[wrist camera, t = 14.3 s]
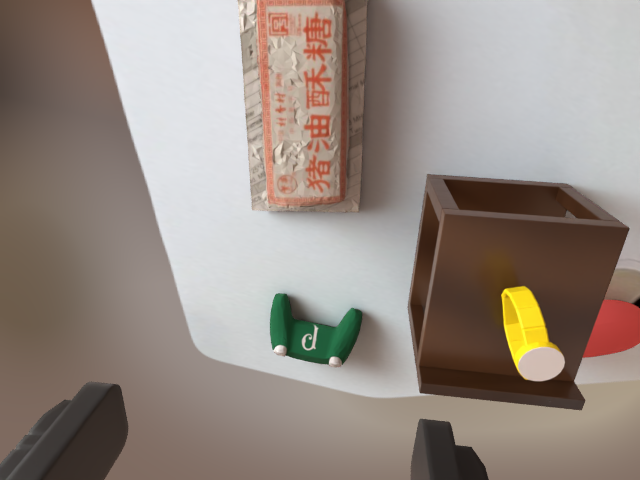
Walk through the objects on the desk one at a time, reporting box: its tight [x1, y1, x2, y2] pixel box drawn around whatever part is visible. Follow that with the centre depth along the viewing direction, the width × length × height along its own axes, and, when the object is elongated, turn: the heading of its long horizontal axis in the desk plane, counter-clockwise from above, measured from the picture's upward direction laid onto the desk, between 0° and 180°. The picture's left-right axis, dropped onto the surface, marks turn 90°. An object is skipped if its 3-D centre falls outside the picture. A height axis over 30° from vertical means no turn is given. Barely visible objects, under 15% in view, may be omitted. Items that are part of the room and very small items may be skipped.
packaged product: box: [238, 0, 368, 212], centre depth 35 cm, size 18×5×10 cm
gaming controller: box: [270, 293, 362, 367], centre depth 45 cm, size 9×4×6 cm
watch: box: [501, 286, 565, 381], centre depth 29 cm, size 6×3×6 cm, turn 13°
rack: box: [408, 174, 629, 410], centre depth 36 cm, size 14×12×12 cm
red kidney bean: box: [583, 300, 640, 358], centre depth 41 cm, size 5×9×6 cm, turn 97°
